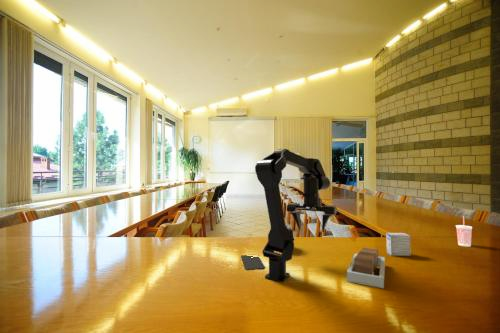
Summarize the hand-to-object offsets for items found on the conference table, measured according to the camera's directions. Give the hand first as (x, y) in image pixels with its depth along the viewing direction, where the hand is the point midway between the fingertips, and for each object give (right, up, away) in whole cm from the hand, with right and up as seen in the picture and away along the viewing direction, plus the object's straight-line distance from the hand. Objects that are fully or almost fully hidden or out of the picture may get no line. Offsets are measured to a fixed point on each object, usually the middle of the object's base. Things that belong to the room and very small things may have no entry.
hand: (311, 230), depth 99 cm
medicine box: (+39, -12, +8) cm, 41 cm away
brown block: (+16, -10, -12) cm, 22 cm away
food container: (-8, -13, +18) cm, 23 cm away
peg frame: (+16, -12, -12) cm, 23 cm away
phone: (-23, -13, -1) cm, 27 cm away
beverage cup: (+78, -13, +21) cm, 82 cm away
